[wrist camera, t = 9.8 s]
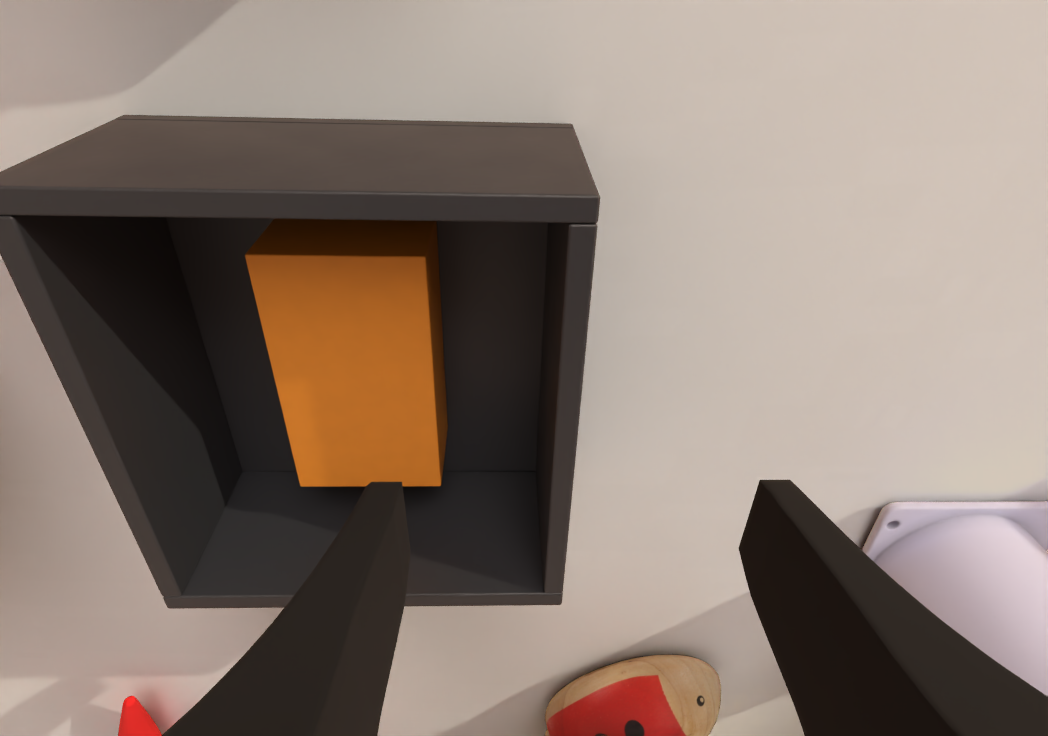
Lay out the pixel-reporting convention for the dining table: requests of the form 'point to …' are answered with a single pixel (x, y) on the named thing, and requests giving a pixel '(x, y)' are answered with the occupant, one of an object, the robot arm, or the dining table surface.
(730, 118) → the dining table surface
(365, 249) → the block
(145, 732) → the toy rocket
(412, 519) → the open cabinet
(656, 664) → the ladybug figurine
